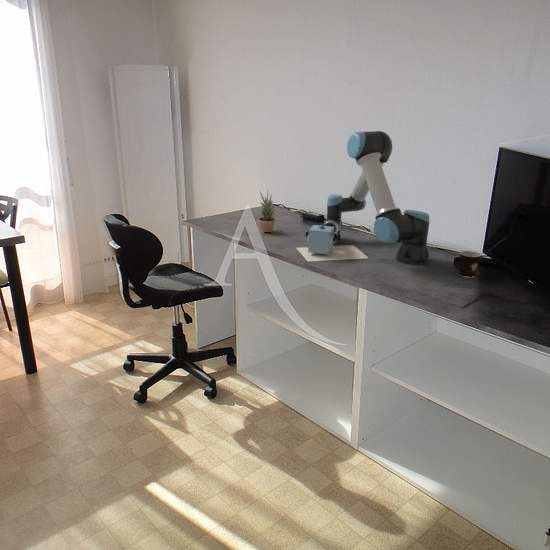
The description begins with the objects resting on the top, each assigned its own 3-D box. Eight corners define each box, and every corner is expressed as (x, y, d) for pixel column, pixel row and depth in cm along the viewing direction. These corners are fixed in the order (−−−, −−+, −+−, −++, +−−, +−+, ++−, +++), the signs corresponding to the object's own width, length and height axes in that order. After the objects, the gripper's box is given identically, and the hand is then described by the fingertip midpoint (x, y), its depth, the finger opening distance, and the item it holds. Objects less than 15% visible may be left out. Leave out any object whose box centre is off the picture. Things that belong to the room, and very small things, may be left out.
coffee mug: (474, 273, 229) (478, 251, 225) (479, 279, 221) (483, 257, 217) (447, 271, 230) (450, 250, 226) (451, 278, 222) (454, 256, 218)
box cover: (333, 248, 254) (334, 224, 250) (328, 254, 245) (329, 229, 241) (313, 246, 257) (314, 222, 253) (308, 252, 248) (309, 227, 244)
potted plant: (255, 232, 288) (255, 187, 279) (263, 228, 296) (263, 185, 287) (271, 234, 283) (271, 189, 275) (279, 231, 291) (279, 187, 283)
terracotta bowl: (328, 254, 249) (328, 247, 248) (316, 255, 248) (316, 248, 247) (324, 251, 255) (325, 244, 254) (312, 251, 254) (313, 244, 252)
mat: (368, 259, 246) (368, 258, 245) (307, 262, 240) (307, 261, 239) (352, 245, 266) (352, 245, 266) (295, 248, 260) (295, 247, 260)
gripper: (350, 238, 263) (342, 250, 243) (307, 234, 270) (295, 245, 250) (351, 224, 261) (343, 235, 241) (308, 220, 267) (296, 230, 247)
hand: (319, 240), depth 245 cm, fingers closed on box cover, 10 cm apart
